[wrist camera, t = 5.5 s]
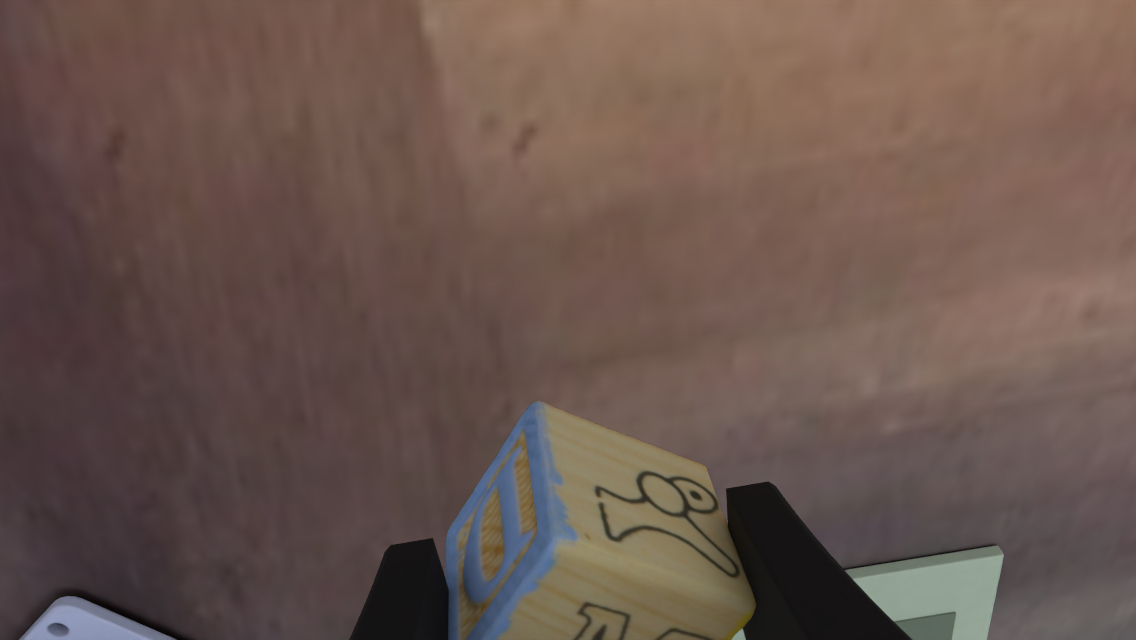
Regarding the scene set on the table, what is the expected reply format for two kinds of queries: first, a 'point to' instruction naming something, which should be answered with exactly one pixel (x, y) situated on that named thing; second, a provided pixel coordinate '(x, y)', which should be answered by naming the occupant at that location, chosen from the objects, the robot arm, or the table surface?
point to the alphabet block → (592, 542)
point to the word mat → (935, 593)
